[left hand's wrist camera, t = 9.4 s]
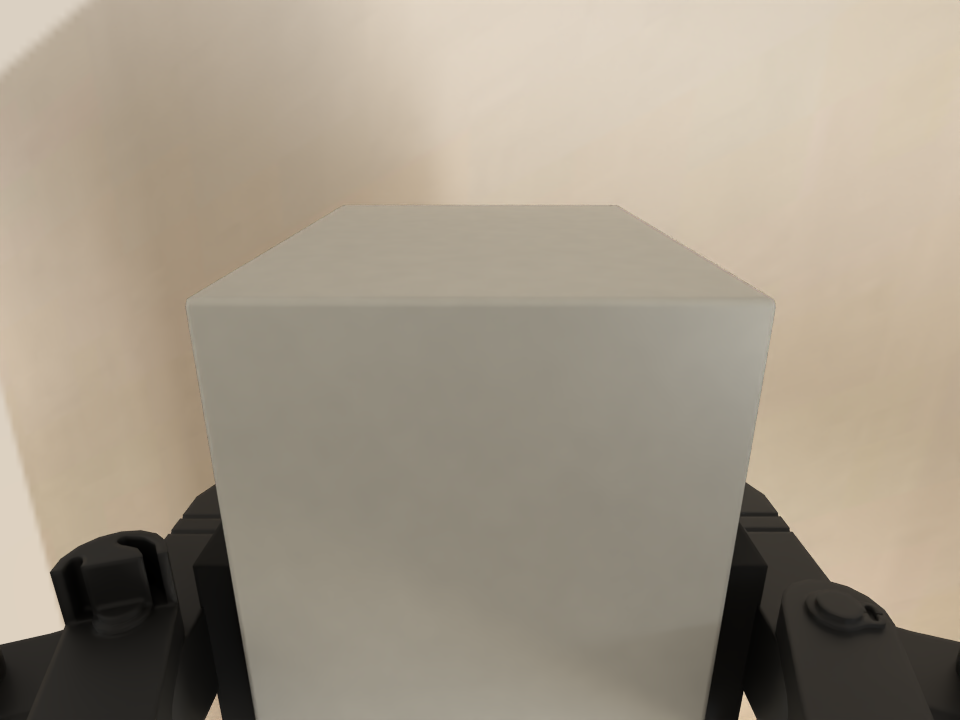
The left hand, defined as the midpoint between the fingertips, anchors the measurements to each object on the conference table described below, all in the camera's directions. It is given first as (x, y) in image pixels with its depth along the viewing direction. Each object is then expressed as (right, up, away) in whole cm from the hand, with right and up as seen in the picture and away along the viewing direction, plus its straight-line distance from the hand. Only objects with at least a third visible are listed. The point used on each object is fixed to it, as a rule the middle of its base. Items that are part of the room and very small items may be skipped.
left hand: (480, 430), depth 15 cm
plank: (0, -20, +8) cm, 21 cm away
